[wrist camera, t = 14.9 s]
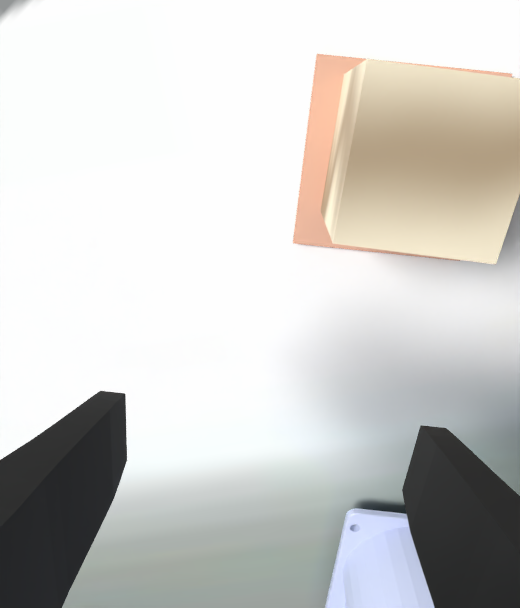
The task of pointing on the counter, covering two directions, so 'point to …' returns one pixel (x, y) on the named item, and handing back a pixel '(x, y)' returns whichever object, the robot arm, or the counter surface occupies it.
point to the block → (424, 161)
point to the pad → (328, 149)
